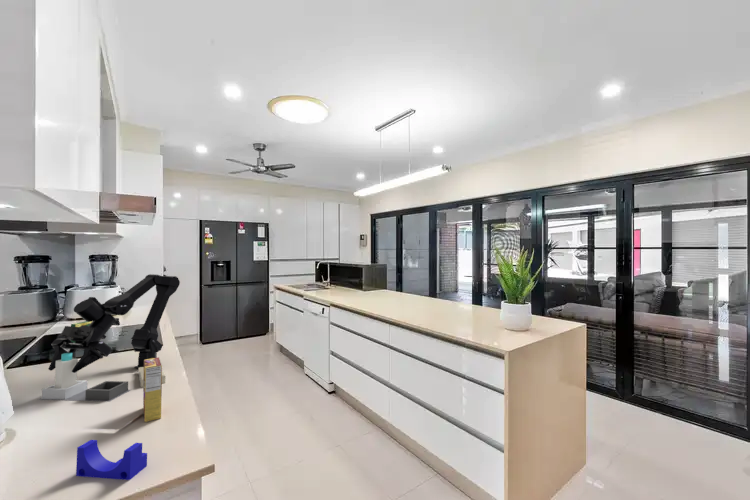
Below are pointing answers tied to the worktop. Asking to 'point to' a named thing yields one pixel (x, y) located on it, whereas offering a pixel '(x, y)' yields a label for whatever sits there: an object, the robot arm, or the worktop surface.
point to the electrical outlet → (141, 375)
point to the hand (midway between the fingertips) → (61, 371)
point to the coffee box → (80, 325)
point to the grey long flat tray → (86, 391)
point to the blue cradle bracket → (109, 462)
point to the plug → (65, 371)
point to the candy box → (152, 389)
